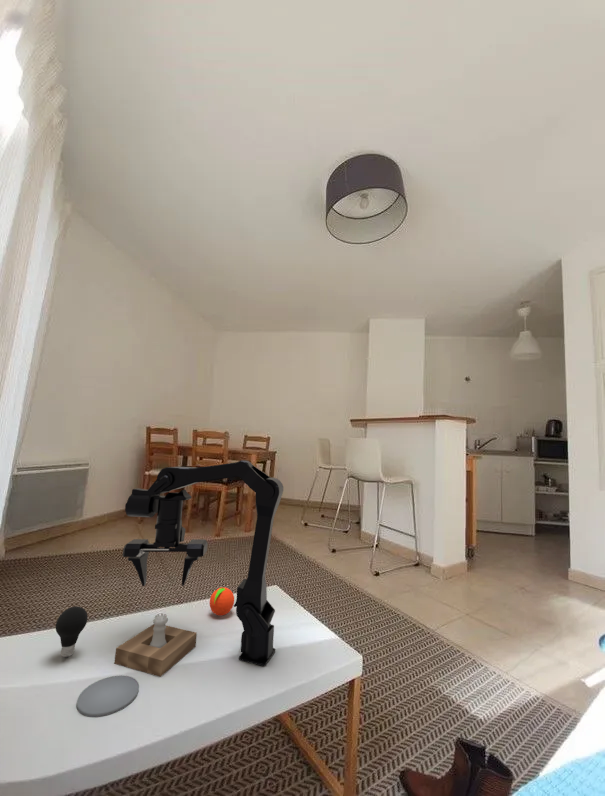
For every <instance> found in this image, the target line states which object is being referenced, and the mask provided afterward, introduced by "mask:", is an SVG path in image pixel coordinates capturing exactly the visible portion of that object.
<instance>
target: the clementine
mask: <svg viewBox="0 0 605 796" xmlns="http://www.w3.org/2000/svg"><path fill="white" fill-rule="evenodd" d="M234 605H235V596H234V593H233V592H232V590H231V589H229V588H228V587H224V586H223V587H218V588H217V589H215V590H214V591H213V592H212V594H211V596H210V598H209V607H210V610H211V612H212V613H213V614H214V615H216V616H219V617H221V616H226V615H227V614H228V613H230V612H231V610H232V609H233V608H234Z"/></svg>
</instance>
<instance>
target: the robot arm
mask: <svg viewBox="0 0 605 796" xmlns="http://www.w3.org/2000/svg"><path fill="white" fill-rule="evenodd" d="M232 478H240V479H241V480H242V481H243V482H244V483H245V484H246V485H247V487H248V488H249V489H250V490H252V491H253V492H254V494H255V509H256V522H255V529H254V534H253V540H252V547H251V553H250V560H249V566H248V573H247V578H243V580H242V581H241V582H240V584H239V585H238V586H237V589H236V599H235V602H234V605H233V608H235V609H236V610H235V614H236V617H237V619H239V621H240V622H241V624H242V627H243V631H242V632H241V637H240V639H241V640H240V655H239V656H238V660H239V661H242V662H246V663H250V664H254V665H257V666H258V665H259V666H263V667H265V666H267V664H268V663H269V661H270V660H271V659H272V657H273V655H274V654H275V653H276V648H274V635H275V634H274V632H275V625H274V624H271V623H272V620H273V617H274V614H275V613H276V609H275V608H274V607H273V606H272V604H271V603H270V602H269V601H268V599H267V597H268V596H267V595H268V593H267V592H268V591H267V589H268V588H267V587H268V586H267V581H266V580H267V579H266V572H267V565H268V559H269V552H270V547H271V546H270V545H271V540H272V534H273V526H274V518H275V516H276V512H277V510H278V509H279V506H280V504H281V503H280V502H281V499H282V496H283V493H284V485H283V483H282V482H281V480H280V479H278V478H276V477H271V476H269V475H268V474H266V473H265V472H264V471H262V470H261V469H259V468H258V467H256V466H255V465H254V464H253V463H252V462H251V461H249V460H238V461H237V462H230V463H229V462H228V463H222V464H221V463H220V464H214V465H207V466H202V467H195V466H194V467H193V466H191V467H190V466H169V467H164V468H161V469H160V471H159V472H158V473H157V477H156V479H155V481H154V482H153V483H152V484H151V486H150V487H149V488H148V489H145V488H144V489H143V488H133V489H132V490H131V494H130V495H129V497H128V498H127V500H126V502H125V505H124V511H125V514H126V516H127V517H135V518H139V517H140V518H153V517H154V516H155V515H156V514H157V515H156V523H155V525H154V530H155V538H154V542H153V543H152V542H151V543H149V539H148V538H147V539H146V538H143V539H141V538H133V539H132V540H131V541H129V542H127V543H126V544H125V545H124V547H123V549H122V557H123V558H127V561H129V562H131V563H132V564H133V567H134V568H135V570H136V572H137V575H138V578H139V581H140V584H141V586H142V587H145V586H147V585H146V583H147V579H148V577H147V576H148V575H147V574H148V558H149V557H148V556H149V553H153V552H154V553H167V552H168V553H183V552H184V553H185V554H186V557H184V561H183V569H182V577H181V586H182V587H185V584H186V582H187V579H188V577H189V574H190V571H191V568H192V566H193V565H194V563H195V561H198V560H199V559H200V558H202V557H204V556H205V554H206V553H207V551H208V543H209V542H208V541H207V540H206V538H205V539H202V538H201V539H194V538H193V539H191V540H190V541H189V542H188V543H183V542H184V541H185V535H186V528H185V527H184V526H182V525H183V520H182V516H183V505H184V504H183V503H184V501H187V500H191V499H192V496H191V494H190V493H188V492H187V490H186V489H183V488H185V487H188V486H192V485H195V484H197V483H201V482H202V483H204V482H209V481H210V482H211V481H216V480H223V479H232ZM179 489H182V490H180V491H179V492H174V490H175V491H176V490H179ZM171 491H173V492H171ZM165 493H166V495H161V494H165Z"/></svg>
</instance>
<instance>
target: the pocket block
mask: <svg viewBox="0 0 605 796" xmlns="http://www.w3.org/2000/svg"><path fill="white" fill-rule="evenodd" d="M154 626H155V625H154V623H153V624H151V625H150V626H148V627H146V628H144V629H143V630H142V631H141V632H139V633H138V634H136V635H134V636H132V637H131V638H130V639H128V640H127V641H125V642H122V644H120V645H119V646H117V647H116V648H115V655H114V664H115V665H118V666H122V667H125V668H128V669H132V670H135V671H138V672H142V673H146V674H149V675H153V676H155V677H160V678H162V676H164V675H165V674H166V673H167V672H168V671H169V670H171V669H172V668H174V666H175V665H176V664H177V663H179V662H180V661H181V660H182V659H183V658H184V657H186V656H187V655H188V654H189V653H190V652H191V651H193V650H194V649H195V648H196V646H197V637H198V636H197V635H198V632H195V631H192V630H187V629H184V628H178V627H175V626H170V625H166V629H165V640H166V643H167V644H165V645H164V646H163V647H161V648H157V647H153V646H149V645H150V643H151V641H152V638H153V633H154V630H153V628H154Z"/></svg>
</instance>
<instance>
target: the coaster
mask: <svg viewBox="0 0 605 796" xmlns="http://www.w3.org/2000/svg"><path fill="white" fill-rule="evenodd" d="M139 688H140V685H139V682H138V680H137V679H135V678H134V677H132V676H129V675H123V674H122V675H120V674H119V675H113V676H108V677H104V678H101V679H99V680H97V681H94V682H93V683H91V684H90V685H88V686H87V687H86V688H84V689H83V690H82V691H81V692H80V694H79V695H78V697H77V700H76V701H77V702H76V710H77V711H78V712H79V714H81V715H83V716H85V717H92V718H97V717H105V716H108V715H112V714H116V713H117V712H119V711H121V710H123V709H125V708H127V707H128V706H129V705H131V703H133V702H134V700H135V699H136V698H137V696H138V694H139Z"/></svg>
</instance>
